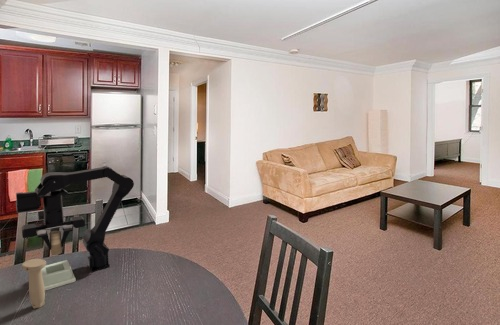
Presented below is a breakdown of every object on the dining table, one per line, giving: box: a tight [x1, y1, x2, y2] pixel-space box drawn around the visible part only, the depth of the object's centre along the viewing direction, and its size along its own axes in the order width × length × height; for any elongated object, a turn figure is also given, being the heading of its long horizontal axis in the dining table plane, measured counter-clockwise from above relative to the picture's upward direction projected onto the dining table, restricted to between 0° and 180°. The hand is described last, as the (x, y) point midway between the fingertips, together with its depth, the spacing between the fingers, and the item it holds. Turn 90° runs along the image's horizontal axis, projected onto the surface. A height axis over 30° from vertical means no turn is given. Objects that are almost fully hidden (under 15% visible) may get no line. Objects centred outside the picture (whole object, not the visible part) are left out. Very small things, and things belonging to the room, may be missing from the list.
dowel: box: [48, 230, 63, 256], centre depth 106 cm, size 3×3×8 cm
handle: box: [22, 258, 47, 309], centre depth 91 cm, size 5×6×15 cm
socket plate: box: [42, 259, 77, 291], centre depth 106 cm, size 11×11×4 cm
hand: (56, 248), depth 106 cm, fingers closed on dowel, 3 cm apart
